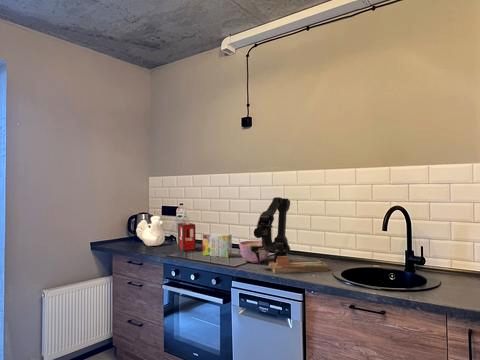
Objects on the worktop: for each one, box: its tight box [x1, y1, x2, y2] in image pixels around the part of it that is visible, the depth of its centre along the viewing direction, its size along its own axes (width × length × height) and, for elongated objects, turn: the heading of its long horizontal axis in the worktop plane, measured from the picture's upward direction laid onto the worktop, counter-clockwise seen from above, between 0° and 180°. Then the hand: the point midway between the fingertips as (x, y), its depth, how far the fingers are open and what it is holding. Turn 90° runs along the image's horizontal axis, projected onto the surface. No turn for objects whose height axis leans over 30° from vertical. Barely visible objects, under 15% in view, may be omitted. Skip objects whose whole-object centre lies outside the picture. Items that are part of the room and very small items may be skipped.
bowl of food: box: [238, 240, 270, 264], centre depth 210 cm, size 20×20×12 cm
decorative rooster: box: [135, 215, 166, 247], centre depth 277 cm, size 25×16×25 cm, turn 61°
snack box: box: [202, 232, 233, 259], centre depth 229 cm, size 21×6×15 cm, turn 59°
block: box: [276, 255, 290, 266], centre depth 191 cm, size 6×6×4 cm
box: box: [268, 259, 329, 274], centre depth 189 cm, size 16×30×3 cm, turn 96°
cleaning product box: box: [177, 222, 197, 253], centre depth 252 cm, size 16×9×20 cm, turn 25°
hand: (267, 263), depth 190 cm, fingers open, 9 cm apart
